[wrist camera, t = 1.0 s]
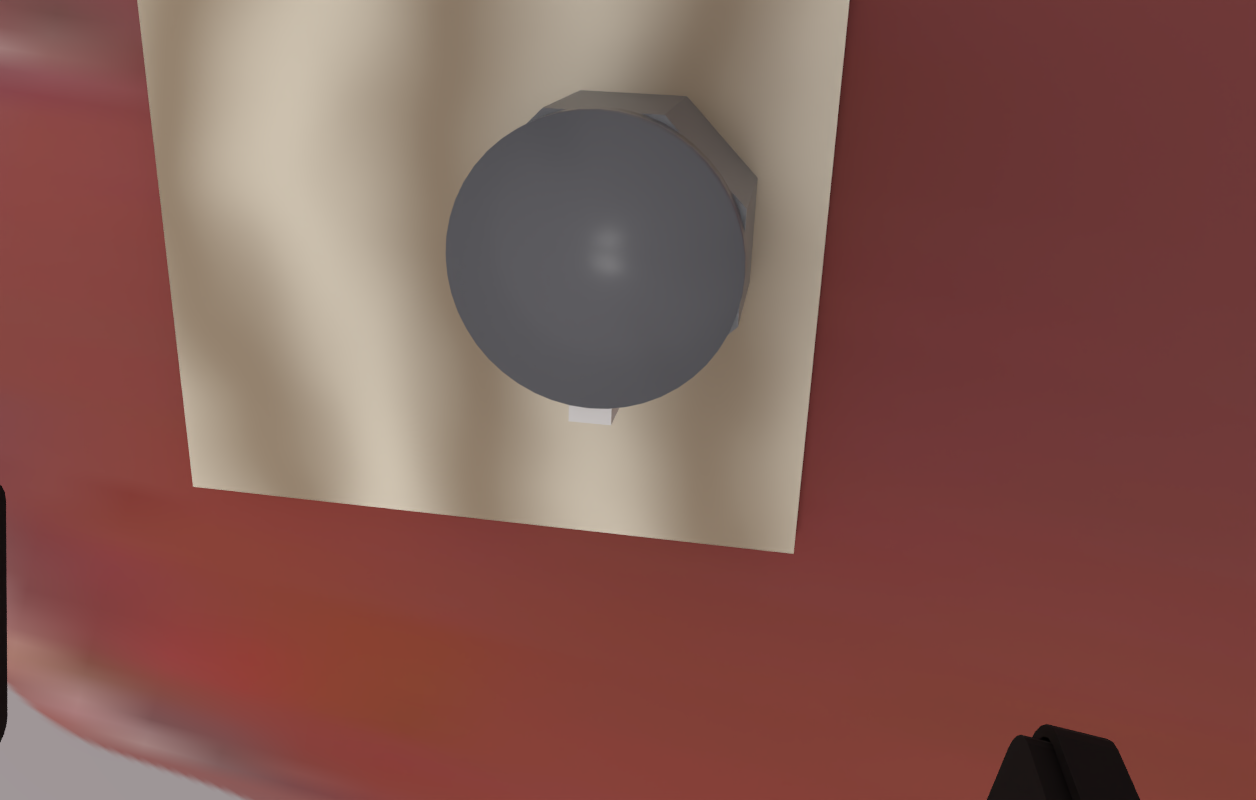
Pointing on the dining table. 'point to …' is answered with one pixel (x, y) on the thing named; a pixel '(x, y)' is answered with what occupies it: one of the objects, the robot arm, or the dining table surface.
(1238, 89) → the dining table surface
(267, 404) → the board
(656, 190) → the cap
